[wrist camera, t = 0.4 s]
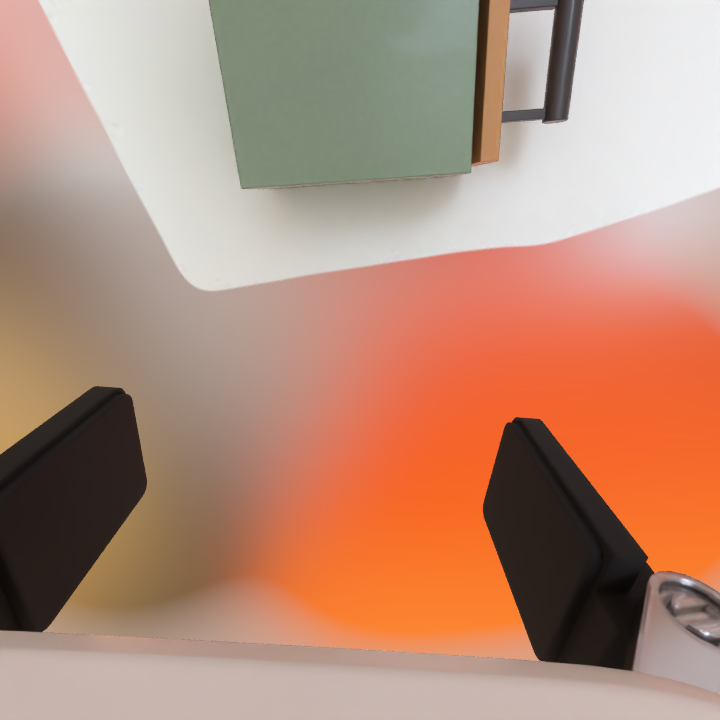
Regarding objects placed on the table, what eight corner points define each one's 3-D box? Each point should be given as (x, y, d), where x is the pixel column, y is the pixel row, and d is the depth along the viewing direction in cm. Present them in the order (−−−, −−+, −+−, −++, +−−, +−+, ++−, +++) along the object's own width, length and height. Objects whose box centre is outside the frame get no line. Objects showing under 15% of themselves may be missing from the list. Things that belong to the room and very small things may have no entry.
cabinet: (446, -17, 28) (485, -112, 19) (441, 176, 33) (471, 172, 24) (246, 1, 29) (193, -85, 20) (272, 188, 34) (240, 189, 25)
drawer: (553, -21, 27) (621, -96, 20) (533, 162, 32) (583, 154, 25) (287, 2, 28) (261, -64, 21) (306, 178, 33) (291, 175, 25)
